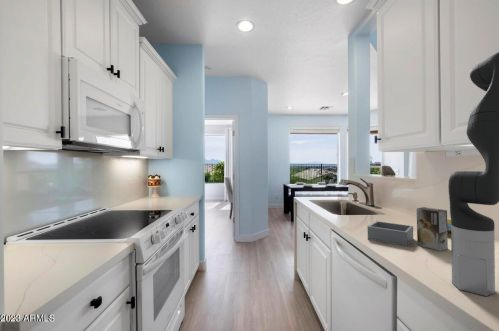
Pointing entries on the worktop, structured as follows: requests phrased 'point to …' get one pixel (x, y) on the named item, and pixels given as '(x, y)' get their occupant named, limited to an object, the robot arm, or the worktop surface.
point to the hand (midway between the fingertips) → (476, 198)
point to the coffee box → (432, 228)
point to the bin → (390, 233)
